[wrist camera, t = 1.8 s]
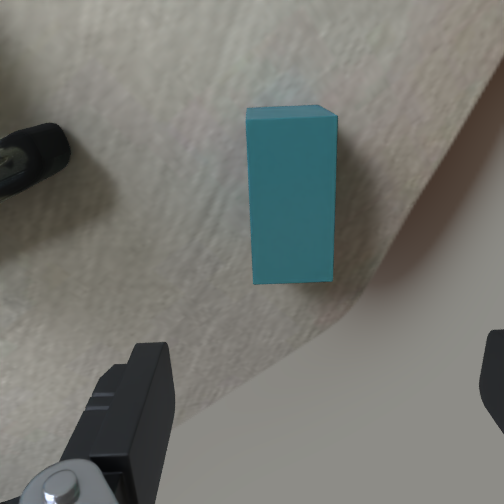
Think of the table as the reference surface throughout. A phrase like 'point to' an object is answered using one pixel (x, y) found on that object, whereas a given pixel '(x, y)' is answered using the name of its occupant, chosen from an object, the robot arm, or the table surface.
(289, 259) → the block
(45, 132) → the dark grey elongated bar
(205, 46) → the table surface
